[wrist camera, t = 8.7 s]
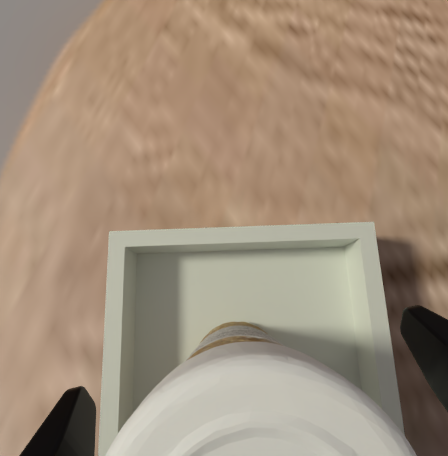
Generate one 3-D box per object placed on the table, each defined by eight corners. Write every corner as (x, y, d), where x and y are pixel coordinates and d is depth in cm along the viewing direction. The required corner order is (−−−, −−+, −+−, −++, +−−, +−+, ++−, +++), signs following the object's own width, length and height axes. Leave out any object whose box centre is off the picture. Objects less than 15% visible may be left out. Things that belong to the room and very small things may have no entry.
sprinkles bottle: (282, 417, 16) (508, 884, 3) (189, 413, 16) (27, 848, 3) (281, 320, 17) (448, 362, 4) (194, 317, 17) (89, 348, 4)
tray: (384, 496, 16) (419, 538, 13) (117, 504, 16) (93, 548, 13) (351, 234, 19) (373, 221, 16) (127, 242, 19) (109, 231, 16)
